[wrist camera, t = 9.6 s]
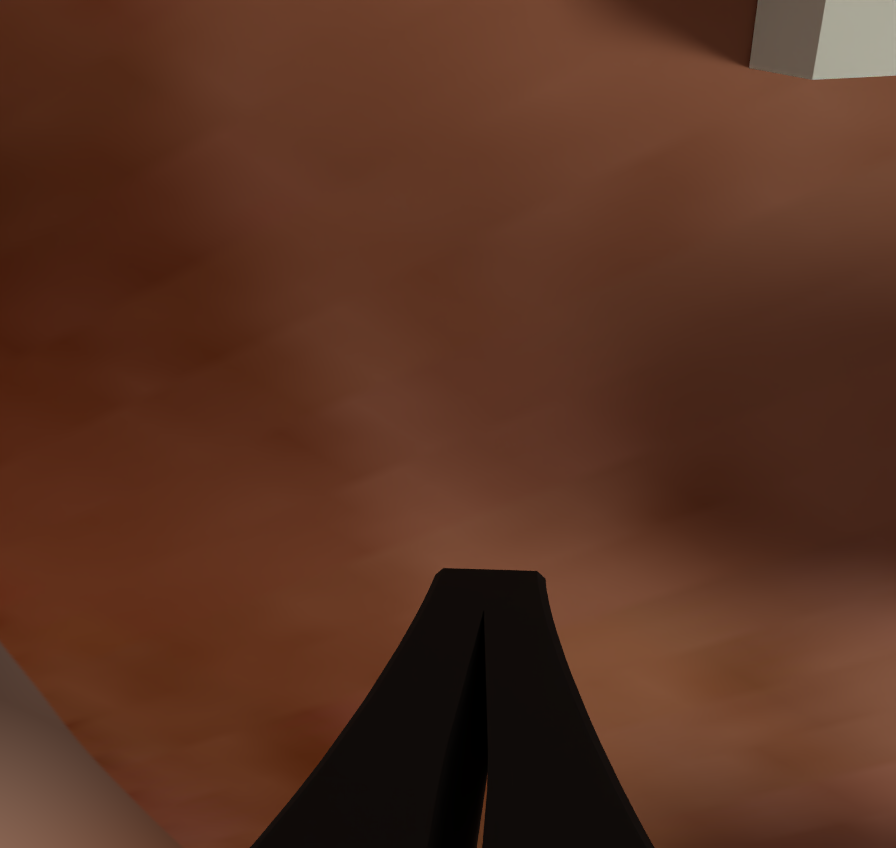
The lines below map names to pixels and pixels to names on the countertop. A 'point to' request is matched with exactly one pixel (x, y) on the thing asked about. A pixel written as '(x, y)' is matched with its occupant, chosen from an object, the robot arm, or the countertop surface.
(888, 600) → the countertop surface
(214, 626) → the countertop surface
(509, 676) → the robot arm
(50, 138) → the countertop surface
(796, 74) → the socket block
